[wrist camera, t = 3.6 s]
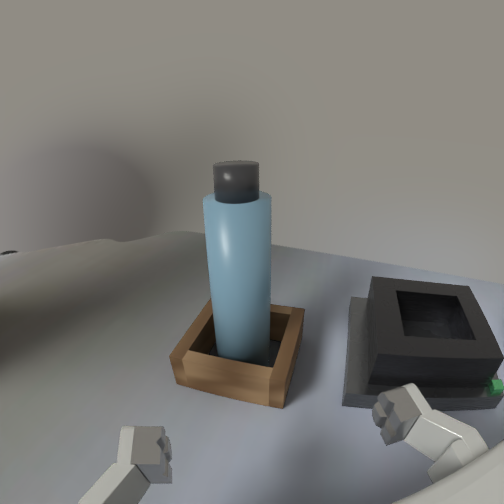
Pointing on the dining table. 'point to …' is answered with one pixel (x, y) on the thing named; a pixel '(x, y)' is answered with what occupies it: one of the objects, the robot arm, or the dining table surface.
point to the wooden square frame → (234, 372)
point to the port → (421, 346)
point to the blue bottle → (239, 261)
